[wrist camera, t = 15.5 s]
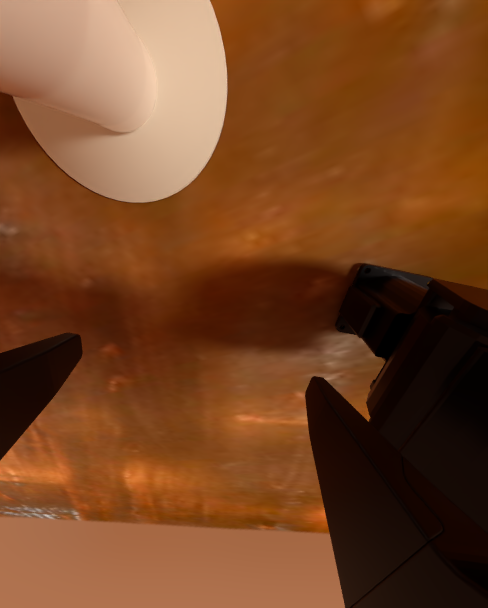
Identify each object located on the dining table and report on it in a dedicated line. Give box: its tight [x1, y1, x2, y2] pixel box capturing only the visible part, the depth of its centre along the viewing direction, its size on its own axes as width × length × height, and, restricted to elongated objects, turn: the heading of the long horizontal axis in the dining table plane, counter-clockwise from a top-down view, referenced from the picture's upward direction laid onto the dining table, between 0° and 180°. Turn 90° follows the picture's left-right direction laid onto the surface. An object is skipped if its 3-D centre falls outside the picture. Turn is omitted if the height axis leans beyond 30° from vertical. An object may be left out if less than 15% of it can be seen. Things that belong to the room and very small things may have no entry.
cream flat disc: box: [13, 0, 227, 202], centre depth 14 cm, size 14×14×1 cm
